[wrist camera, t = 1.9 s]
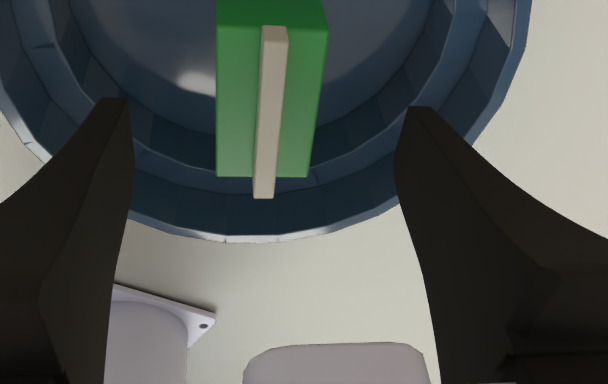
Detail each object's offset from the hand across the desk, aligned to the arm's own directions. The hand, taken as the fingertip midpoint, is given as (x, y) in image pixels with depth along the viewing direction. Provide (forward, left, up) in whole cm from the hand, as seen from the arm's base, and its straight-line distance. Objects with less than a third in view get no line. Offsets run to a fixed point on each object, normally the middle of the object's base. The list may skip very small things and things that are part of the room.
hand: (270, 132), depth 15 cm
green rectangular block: (0, 0, -8) cm, 8 cm away
